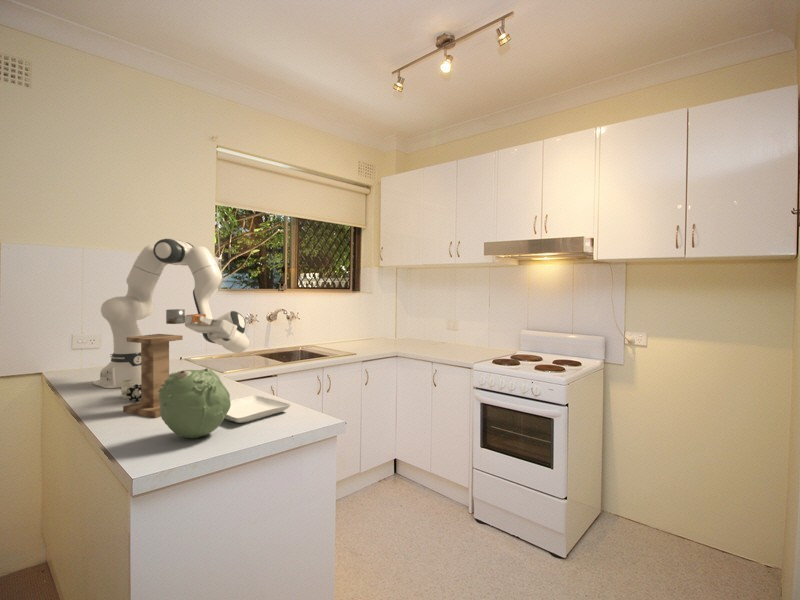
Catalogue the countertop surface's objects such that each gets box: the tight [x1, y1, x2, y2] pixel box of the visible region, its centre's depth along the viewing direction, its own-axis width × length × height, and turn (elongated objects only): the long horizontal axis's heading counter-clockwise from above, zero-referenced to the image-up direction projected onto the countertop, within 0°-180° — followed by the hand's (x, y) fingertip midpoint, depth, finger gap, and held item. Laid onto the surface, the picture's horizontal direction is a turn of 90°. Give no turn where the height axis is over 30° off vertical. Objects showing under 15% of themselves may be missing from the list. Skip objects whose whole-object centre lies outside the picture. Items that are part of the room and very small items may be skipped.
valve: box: [120, 380, 141, 403], centre depth 157 cm, size 7×7×12 cm
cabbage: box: [158, 367, 231, 439], centre depth 118 cm, size 16×19×20 cm
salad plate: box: [224, 394, 292, 424], centre depth 141 cm, size 21×21×3 cm
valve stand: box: [122, 333, 184, 419], centre depth 143 cm, size 16×12×26 cm
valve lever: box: [165, 308, 206, 325], centre depth 154 cm, size 6×15×5 cm, turn 158°
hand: (194, 317), depth 158 cm, fingers closed on valve lever, 3 cm apart
